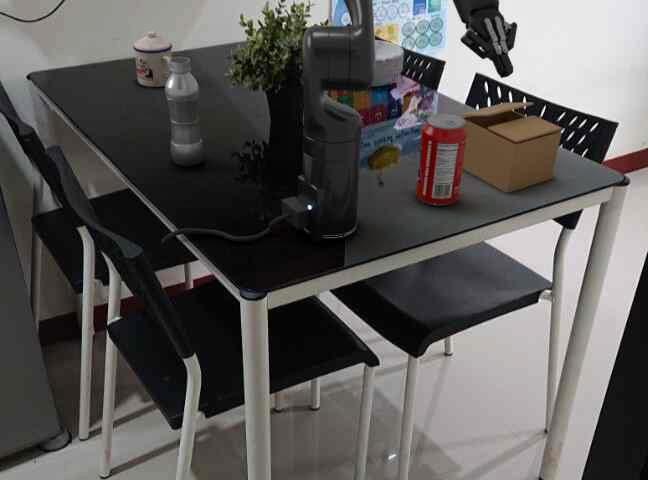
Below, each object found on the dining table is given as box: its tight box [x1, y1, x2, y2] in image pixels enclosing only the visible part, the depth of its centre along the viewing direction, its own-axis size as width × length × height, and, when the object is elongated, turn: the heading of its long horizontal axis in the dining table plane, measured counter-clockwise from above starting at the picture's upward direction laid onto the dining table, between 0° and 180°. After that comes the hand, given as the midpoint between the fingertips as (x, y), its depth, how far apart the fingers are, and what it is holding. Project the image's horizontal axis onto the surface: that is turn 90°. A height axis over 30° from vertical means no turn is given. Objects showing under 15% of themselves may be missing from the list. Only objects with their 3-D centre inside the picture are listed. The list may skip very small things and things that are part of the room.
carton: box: [461, 110, 563, 194], centre depth 150 cm, size 15×12×10 cm
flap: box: [460, 101, 534, 117], centre depth 149 cm, size 7×12×1 cm, turn 123°
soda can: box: [415, 113, 467, 207], centre depth 138 cm, size 8×8×15 cm
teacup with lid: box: [132, 31, 173, 88], centre depth 185 cm, size 12×9×12 cm
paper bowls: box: [370, 39, 405, 88], centre depth 192 cm, size 15×15×8 cm
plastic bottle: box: [164, 56, 205, 167], centre depth 147 cm, size 6×7×20 cm
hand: (507, 75), depth 144 cm, fingers closed
